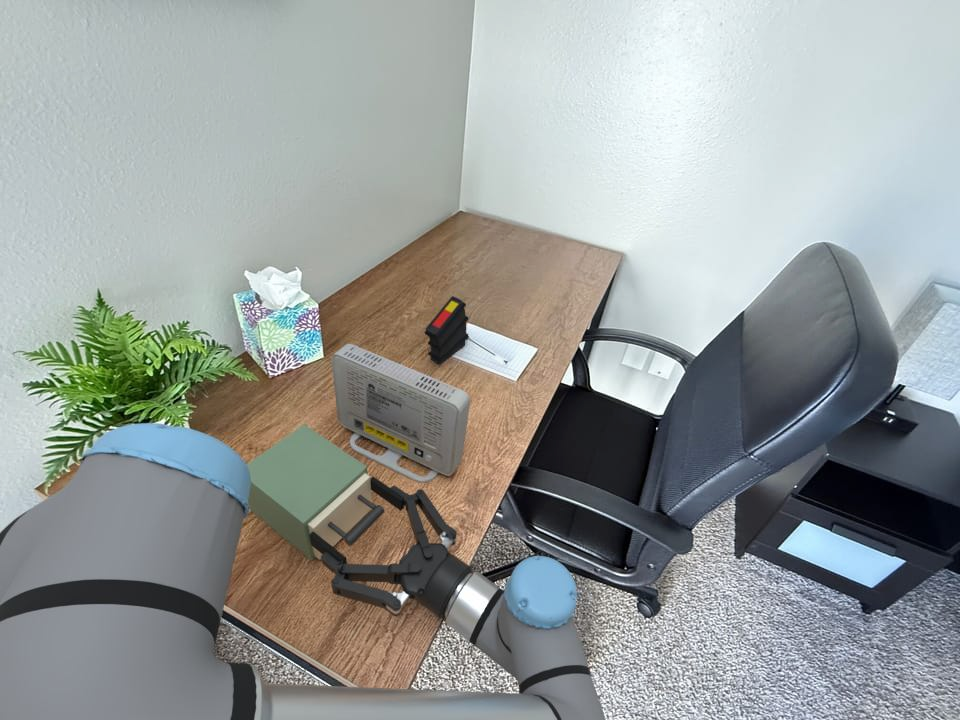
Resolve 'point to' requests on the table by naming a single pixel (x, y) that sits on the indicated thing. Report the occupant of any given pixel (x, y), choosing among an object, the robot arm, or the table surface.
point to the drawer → (346, 515)
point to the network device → (400, 412)
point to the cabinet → (299, 483)
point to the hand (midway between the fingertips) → (343, 508)
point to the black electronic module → (447, 330)
